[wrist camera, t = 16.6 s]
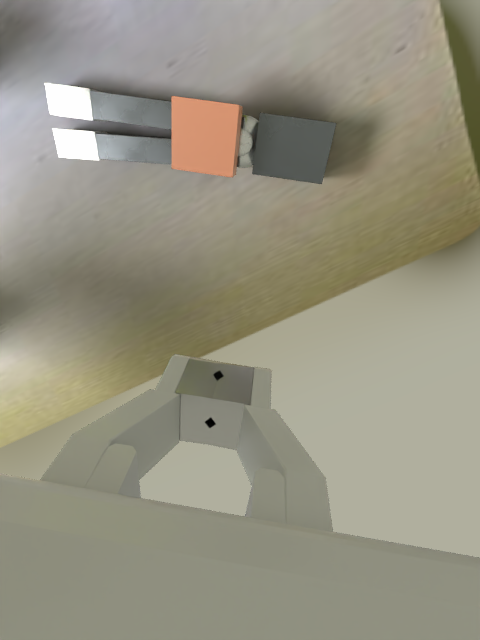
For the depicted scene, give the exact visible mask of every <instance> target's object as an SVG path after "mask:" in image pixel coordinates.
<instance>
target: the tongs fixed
mask: <svg viewBox="0 0 480 640" xmlns="http://www.w3.org/2000/svg"><path fill="white" fill-rule="evenodd" d="M45 89H46V94H47V100H48V106H49V112H50V115H57V116H64V117H71V118H78V119H85V120H92V121H105V122H107V121H114V122H121V123H128V124H135V125H142V126H149V127H156V128H164V129H171V130H172V102H169V101H162V100H154V99H147V98H140V97H132V96H125V95H117V94H110V93H104V92H102V91H98V90H93V89H89V88H82V87H74V86H67V85H59V84H52V83H45ZM335 127H336V123H332V122H325V121H317V120H310V119H302V118H295V117H287V116H280V115H273V114H265V113H260V116H259V121H258V120H257V119H255V118H253V117H252V116H249V115H242V119H241V128H242V129H246V130H247V131H249V132H250V134H251V135H252V138H253V146H252V149H251V151H250V152H249V153H248V154H247V155H244V156H240V167H239V168H247V167H250V166H252V165H253V172H252V174H256V175H263V176H270V177H276V178H283V179H290V180H297V181H304V182H311V183H318V184H322V182H323V177H324V173H325V169H326V165H327V161H328V156H329V152H330V148H331V144H332V140H333V135H334V131H335Z"/></svg>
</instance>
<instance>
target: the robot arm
mask: <svg viewBox="0 0 480 640" xmlns="http://www.w3.org/2000/svg"><path fill="white" fill-rule="evenodd" d="M270 406H271V370H270V369H267V368H258V367H248V366H242V365H236V364H229V363H222V362H218V361H212V360H206V359H201V358H195V357H189V356H183V355H177V354H174V355H173V356H172V357H171V359H170V361H169V363H168V365H167V367H166V369H165V371H164V373H163V375H162V377H161V379H160V381H159V383H158V385H157V387H156V389H155V390H151V389H150V390H148V391H146V392H144V393H143V394H141V395H139V396H138V397H136V398H134V399H132V400H131V401H129V402H127V403H126V404H124V405H122V406H120V407H119V408H117V409H115V410H113V411H112V412H110V413H108V414H106V415H105V416H103V417H101V418H100V419H98V420H96V421H94V422H93V423H91V424H89V425H87V426H86V427H84V428H82V429H81V430H79V431H77V432H75V433H74V434H72V436H71V437H70V438H69V440H68V441H67V443H66V444H65V445H64V447H63V448H62V450H61V451H60V452H59V454H58V455H57V457H56V458H55V460H54V461H53V462H52V464H51V465H50V467H49V468H48V470H47V471H46V472H45V474H44V475H43V477H42V478H41V479H40V480H35V479H29V478H23V477H18V476H12V475H6V474H0V640H480V558H479V557H473V556H468V555H461V554H456V553H451V552H445V551H439V550H433V549H428V548H422V547H416V546H411V545H405V544H399V543H393V542H388V541H382V540H376V539H371V538H365V537H360V536H354V535H348V534H342V533H337V532H333V528H332V520H331V514H330V507H329V499H328V492H327V485H326V478H325V476H324V475H323V473H322V472H321V471H320V469H319V468H318V467H317V465H316V464H315V463H314V461H313V460H312V459H311V457H310V456H309V454H308V453H307V452H306V450H305V449H304V448H303V446H302V445H301V444H300V442H299V441H298V440H297V438H296V437H295V435H294V434H293V433H292V431H291V430H290V429H289V427H288V426H287V425H286V423H285V422H284V421H283V419H282V418H281V417H280V415H279V414H278V413H277V411H276V410H274V409H270ZM179 441H186V442H193V443H201V444H208V445H213V446H218V447H223V448H228V449H233V450H237V453H238V455H239V458H240V460H241V462H242V465H243V467H244V469H245V472H246V474H247V476H248V478H249V480H250V483H251V485H252V488H251V492H250V497H249V501H248V505H247V510H246V514H245V516H239V515H234V514H227V513H221V512H216V511H211V510H205V509H199V508H193V507H188V506H182V505H176V504H171V503H165V502H160V501H154V500H148V499H142V498H141V497H140V485H139V480H140V479H141V478H142V477H143V476H144V475H145V474H146V473H147V472H148V471H149V470H150V469H151V468H152V467H153V466H155V465H156V464H157V463H158V462H159V461H160V460H161V459H162V458H163V457H164V456H165V455H166V454H167V453H168V452H169V451H170V450H172V449H173V448H174V447H175V446H176V445H177V444H178V443H179Z"/></svg>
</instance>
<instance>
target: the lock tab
mask: <svg viewBox="0 0 480 640" xmlns="http://www.w3.org/2000/svg"><path fill="white" fill-rule="evenodd" d="M242 109H243V107H242V106H240V105H236V104H229V103H222V102H214V101H207V100H199V99H192V98H184V97H177V96H172V169H178V170H185V171H192V172H198V173H205V174H212V175H219V176H226V177H234V176H235V175H236V169H237V159H238V149H239V139H240V129H241V119H242Z"/></svg>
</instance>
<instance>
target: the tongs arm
mask: <svg viewBox="0 0 480 640" xmlns="http://www.w3.org/2000/svg"><path fill="white" fill-rule="evenodd" d="M53 132H54V137H55V141H56V146H57V151H58V155H59V157H64V158H76V159H88V160H106V159H110V160H122V161H134V162H146V163H159V164H171V165H172V139H170V138H156V137H143V136H130V135H116V134H108V132H100V131H87V130H74V129H53ZM252 146H253V138H252V135H251V134H250V132H249V131H247V130H246V129H242V128H241V129H240V139H239V149H238V159H237V167H240V156H244V155H247V154H248V153H249V152H250V151H251V149H252Z"/></svg>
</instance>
